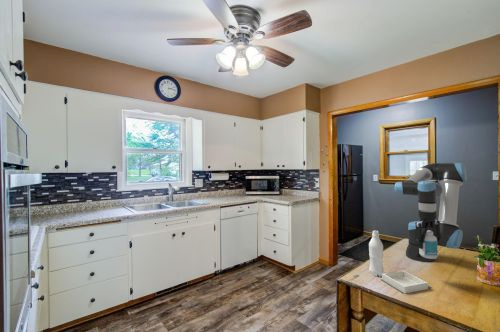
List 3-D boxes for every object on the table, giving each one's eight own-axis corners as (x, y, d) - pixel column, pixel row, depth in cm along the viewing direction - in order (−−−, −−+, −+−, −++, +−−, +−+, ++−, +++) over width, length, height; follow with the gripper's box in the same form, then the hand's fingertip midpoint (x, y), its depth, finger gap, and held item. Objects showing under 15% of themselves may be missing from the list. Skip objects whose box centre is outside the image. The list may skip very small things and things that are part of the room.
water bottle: (366, 272, 135) (365, 229, 134) (378, 271, 135) (377, 228, 135) (374, 278, 128) (373, 233, 127) (386, 277, 128) (385, 232, 128)
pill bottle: (440, 257, 122) (439, 231, 122) (432, 260, 119) (432, 234, 118) (424, 252, 129) (423, 228, 128) (416, 255, 126) (416, 230, 125)
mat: (407, 276, 129) (407, 274, 129) (432, 289, 116) (432, 287, 116) (380, 281, 125) (380, 279, 125) (403, 295, 111) (403, 293, 111)
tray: (403, 275, 128) (403, 270, 128) (428, 288, 115) (427, 282, 115) (381, 279, 125) (381, 273, 125) (404, 293, 112) (404, 287, 112)
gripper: (435, 207, 129) (436, 248, 130) (405, 211, 124) (406, 253, 125) (449, 210, 122) (450, 253, 122) (418, 214, 117) (419, 259, 118)
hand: (428, 253), depth 124 cm, fingers closed on pill bottle, 7 cm apart
